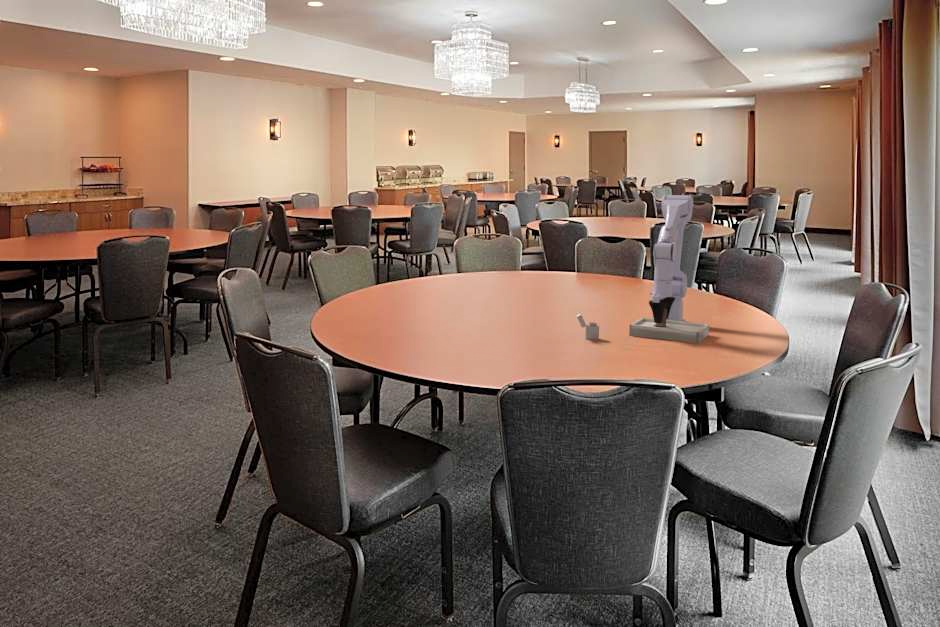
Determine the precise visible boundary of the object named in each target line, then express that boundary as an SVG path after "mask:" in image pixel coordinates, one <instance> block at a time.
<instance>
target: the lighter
mask: <svg viewBox="0 0 940 627" xmlns="http://www.w3.org/2000/svg"><path fill="white" fill-rule="evenodd" d="M576 318H577V320H578V322H579V324H580V327H581V328H584V327H585V340H593V341H594V340H597V341H598V340H600V338H599V337H600V325H598V324H597V322H593V321H592V322H590V321H589V324H586V322H585V319H584V317H583V315H582V314H581V313H578V314H576Z"/></svg>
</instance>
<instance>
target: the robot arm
mask: <svg viewBox="0 0 940 627" xmlns="http://www.w3.org/2000/svg"><path fill="white" fill-rule="evenodd" d="M693 208H694V197H693V195H692V194H689V195H686V194H685V195H684V194H681V195H680V194H676V195H675V194H664V195H663V196H662V199H661V212H662V217H663V218H664V220H665V224H664V225H663V226H662V227H661V228H660V231H659V234H658V239H657V242H656V243H654V245H653V252H652V255H653V266H654V271H653V272H654V274H653V275H654V276H653V291H649V295H651V296H652V300H649V301H648V304H649V306H650V309H651V312H652V317H653V319H654V322H655V323H662V319H663V314H664V310H665V309H667V318H666V320H671V321H681V322H686V319H685V318H683V314H684V313H683V312H684V302H683V298H685V297H686V296H687V292H688V276H687V274H685V272H683V271H682V270H681V260H682V250H683V249H682V248H683V242H684V240H683V239H684V230H685V226H686V224H687V223H688V222H690V221H691V220H692V216H693V210H694V209H693Z"/></svg>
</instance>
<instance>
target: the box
mask: <svg viewBox="0 0 940 627" xmlns="http://www.w3.org/2000/svg"><path fill="white" fill-rule="evenodd" d="M709 331H710V324H709V323H699V322H698V323H697V322H689V321H684V322H681V321H671V320H666V327H665V328H660V327H656V323H655V322H654V318H651V317H650V318H649V317H641V318H639V319H638V320H636V321H634V322H632V323H630V324H629V332H628V334H629V336H633V337H640V338H651V339H659V340H664V341H665V340H666V341H667V340H668V341H674V342H684V343H691V344H700V343H701V342H703V340H704V339H706V338H707V337H708V336H709V333H710V332H709Z"/></svg>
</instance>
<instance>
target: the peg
mask: <svg viewBox="0 0 940 627" xmlns="http://www.w3.org/2000/svg"><path fill="white" fill-rule="evenodd" d="M666 318H667V309H665V310H664V314H663V319H662V323H656V327H660V328H665V327H666Z"/></svg>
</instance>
